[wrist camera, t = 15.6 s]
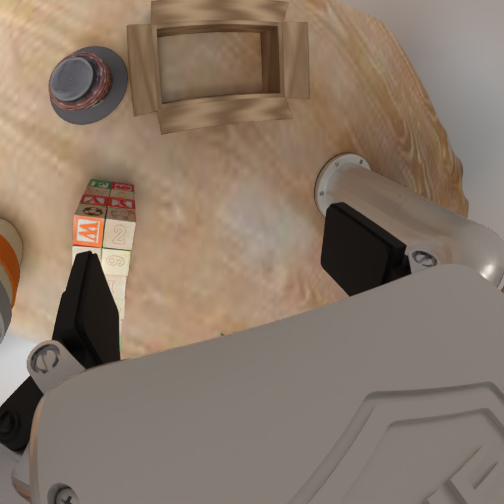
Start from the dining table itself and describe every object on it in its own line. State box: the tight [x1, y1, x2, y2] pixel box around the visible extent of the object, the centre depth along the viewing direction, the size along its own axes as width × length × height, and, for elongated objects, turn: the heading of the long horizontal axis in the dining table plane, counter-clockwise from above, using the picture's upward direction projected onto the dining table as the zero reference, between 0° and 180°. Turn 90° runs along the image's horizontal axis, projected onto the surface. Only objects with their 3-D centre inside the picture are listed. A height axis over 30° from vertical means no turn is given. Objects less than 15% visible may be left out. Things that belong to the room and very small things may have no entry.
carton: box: [127, 0, 310, 135], centre depth 27 cm, size 20×15×7 cm
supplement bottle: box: [49, 52, 113, 111], centre depth 21 cm, size 6×6×11 cm
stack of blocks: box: [72, 180, 136, 350], centre depth 33 cm, size 21×6×12 cm, turn 159°
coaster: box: [50, 46, 127, 125], centre depth 25 cm, size 10×10×1 cm
